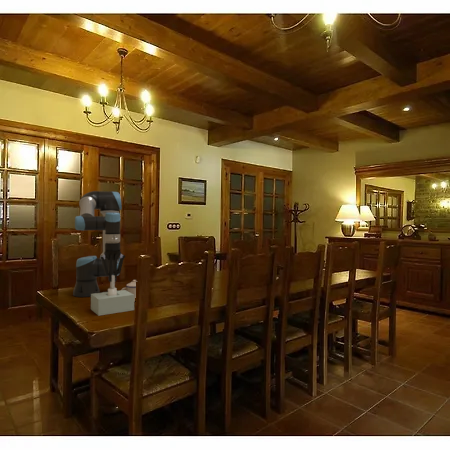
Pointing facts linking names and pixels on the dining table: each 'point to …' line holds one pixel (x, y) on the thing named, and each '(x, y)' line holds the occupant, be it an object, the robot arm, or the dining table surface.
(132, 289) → the teacup with lid
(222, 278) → the dining table surface
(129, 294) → the block
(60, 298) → the dining table surface
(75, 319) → the dining table surface
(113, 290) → the cylinder
